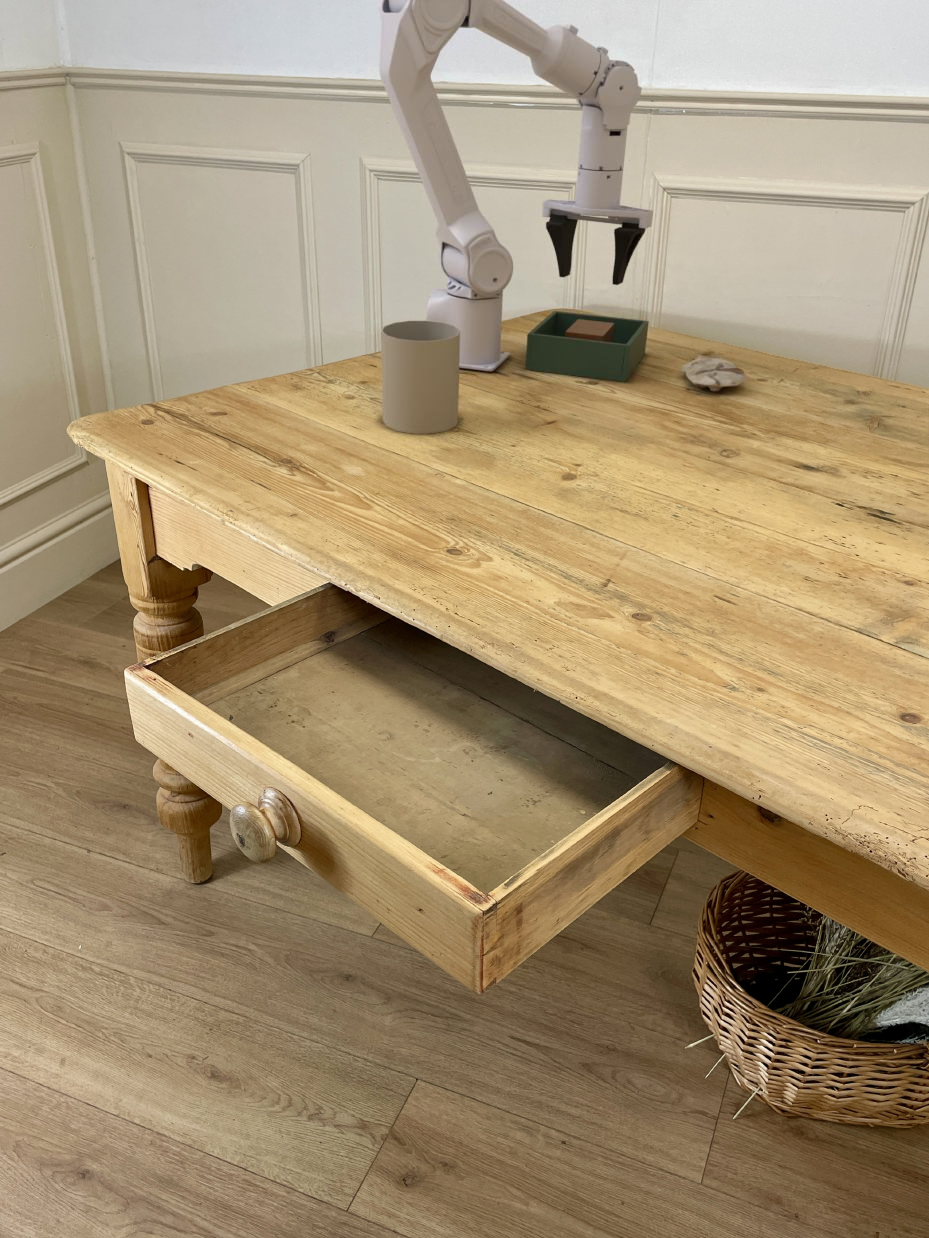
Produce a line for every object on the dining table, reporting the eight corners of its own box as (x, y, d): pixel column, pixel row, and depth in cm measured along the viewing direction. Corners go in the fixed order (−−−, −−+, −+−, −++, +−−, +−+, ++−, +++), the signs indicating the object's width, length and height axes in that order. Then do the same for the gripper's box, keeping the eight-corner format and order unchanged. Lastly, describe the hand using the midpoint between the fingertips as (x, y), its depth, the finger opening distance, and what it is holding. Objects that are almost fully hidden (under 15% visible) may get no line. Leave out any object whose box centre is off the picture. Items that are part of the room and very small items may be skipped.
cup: (430, 439, 106) (431, 346, 101) (368, 423, 110) (366, 332, 105) (471, 417, 112) (474, 328, 107) (411, 403, 116) (411, 316, 111)
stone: (753, 396, 121) (757, 375, 120) (694, 396, 121) (698, 375, 119) (728, 373, 130) (731, 352, 128) (673, 372, 129) (676, 352, 128)
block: (562, 362, 130) (565, 331, 128) (575, 348, 135) (577, 319, 133) (600, 367, 128) (603, 336, 126) (611, 353, 134) (614, 323, 132)
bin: (525, 369, 129) (527, 333, 126) (551, 343, 139) (553, 310, 137) (625, 382, 125) (629, 345, 123) (644, 355, 136) (648, 321, 133)
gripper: (665, 170, 125) (652, 281, 132) (561, 161, 131) (553, 267, 138) (646, 175, 120) (633, 291, 127) (538, 166, 126) (531, 276, 133)
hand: (590, 279), depth 132 cm, fingers open, 7 cm apart
